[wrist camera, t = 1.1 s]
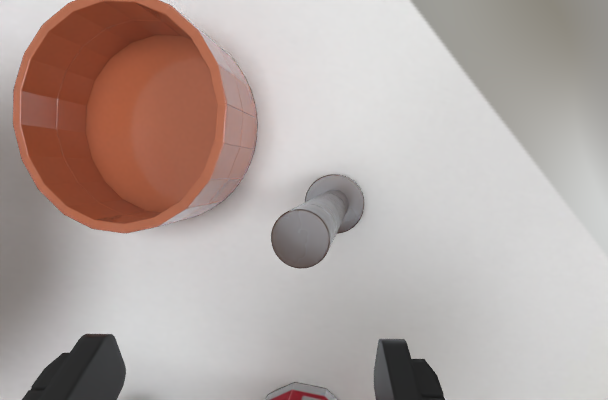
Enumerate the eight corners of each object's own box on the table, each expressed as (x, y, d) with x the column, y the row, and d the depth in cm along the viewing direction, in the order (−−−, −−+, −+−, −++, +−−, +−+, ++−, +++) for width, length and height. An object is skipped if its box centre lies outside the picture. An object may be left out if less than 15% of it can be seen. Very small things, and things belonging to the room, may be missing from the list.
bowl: (119, 3, 27) (51, -43, 21) (287, 71, 26) (263, 42, 20) (63, 174, 29) (-13, 176, 23) (215, 249, 28) (174, 271, 22)
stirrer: (321, 165, 26) (268, 159, 12) (373, 188, 25) (381, 209, 11) (299, 216, 26) (225, 266, 12) (349, 239, 26) (330, 318, 12)
